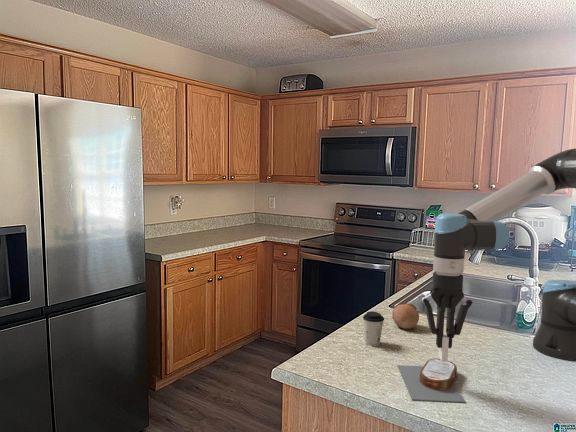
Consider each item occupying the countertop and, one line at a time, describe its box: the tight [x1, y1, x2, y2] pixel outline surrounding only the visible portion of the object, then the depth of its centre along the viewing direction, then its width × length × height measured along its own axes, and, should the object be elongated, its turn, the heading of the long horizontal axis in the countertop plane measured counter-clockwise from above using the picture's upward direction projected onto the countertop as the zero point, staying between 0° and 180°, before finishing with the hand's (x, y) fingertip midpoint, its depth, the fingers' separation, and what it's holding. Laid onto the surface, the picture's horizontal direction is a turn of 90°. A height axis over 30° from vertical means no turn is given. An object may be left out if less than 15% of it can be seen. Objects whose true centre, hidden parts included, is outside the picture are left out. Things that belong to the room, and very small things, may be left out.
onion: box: [391, 302, 420, 330], centre depth 157 cm, size 10×9×10 cm
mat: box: [397, 364, 466, 404], centre depth 116 cm, size 13×19×1 cm
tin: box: [419, 358, 458, 390], centre depth 118 cm, size 15×3×8 cm
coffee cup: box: [362, 310, 385, 347], centre depth 142 cm, size 7×7×10 cm
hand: (443, 358), depth 115 cm, fingers closed
